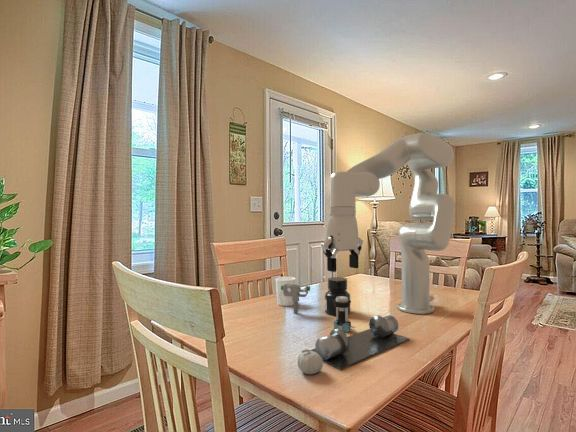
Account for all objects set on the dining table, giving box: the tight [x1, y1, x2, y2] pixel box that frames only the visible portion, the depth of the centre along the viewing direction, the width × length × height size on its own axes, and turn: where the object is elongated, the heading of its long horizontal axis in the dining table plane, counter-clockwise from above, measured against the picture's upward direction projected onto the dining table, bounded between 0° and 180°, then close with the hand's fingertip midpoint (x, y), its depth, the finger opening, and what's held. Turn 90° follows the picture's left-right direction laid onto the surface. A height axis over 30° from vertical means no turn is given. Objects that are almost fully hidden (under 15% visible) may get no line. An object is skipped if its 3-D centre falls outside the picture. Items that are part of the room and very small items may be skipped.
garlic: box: [297, 348, 324, 375], centre depth 78 cm, size 6×5×5 cm
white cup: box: [275, 276, 297, 307], centre depth 135 cm, size 8×8×10 cm
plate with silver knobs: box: [308, 315, 410, 371], centre depth 92 cm, size 28×12×6 cm, turn 129°
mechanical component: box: [281, 283, 311, 315], centre depth 122 cm, size 3×10×10 cm, turn 79°
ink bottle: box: [324, 276, 351, 316], centre depth 123 cm, size 10×9×12 cm
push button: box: [333, 296, 356, 333], centre depth 104 cm, size 7×5×10 cm
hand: (343, 269), depth 104 cm, fingers open, 9 cm apart
